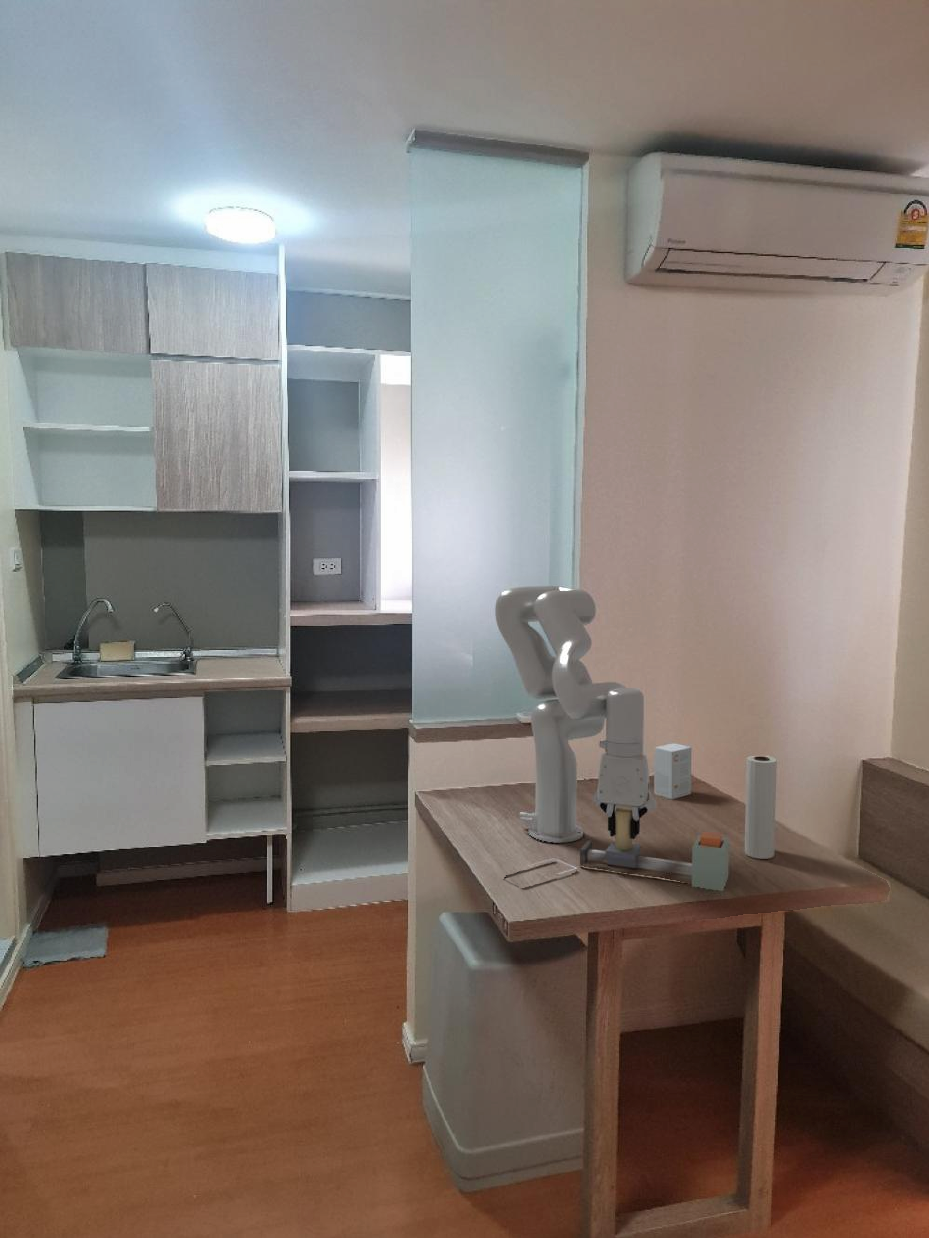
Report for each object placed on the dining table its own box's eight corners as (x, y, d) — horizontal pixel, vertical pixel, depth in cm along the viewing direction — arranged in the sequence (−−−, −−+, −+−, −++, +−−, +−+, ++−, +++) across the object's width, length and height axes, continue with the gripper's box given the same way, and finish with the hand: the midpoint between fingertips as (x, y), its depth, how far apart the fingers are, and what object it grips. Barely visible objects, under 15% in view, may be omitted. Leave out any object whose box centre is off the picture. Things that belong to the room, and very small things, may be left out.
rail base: (579, 867, 182) (580, 849, 182) (587, 858, 187) (587, 840, 187) (692, 884, 173) (692, 865, 172) (697, 874, 178) (697, 855, 178)
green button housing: (691, 886, 172) (692, 847, 171) (697, 872, 179) (698, 834, 178) (723, 891, 169) (723, 851, 169) (728, 876, 177) (729, 838, 176)
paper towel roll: (758, 861, 185) (760, 762, 183) (738, 852, 191) (740, 756, 189) (784, 856, 188) (787, 759, 186) (764, 847, 193) (766, 752, 192)
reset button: (700, 852, 173) (700, 837, 172) (702, 846, 176) (703, 831, 176) (718, 855, 171) (719, 839, 171) (721, 849, 175) (721, 833, 174)
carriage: (605, 865, 180) (606, 812, 179) (612, 856, 185) (613, 804, 184) (634, 869, 177) (635, 816, 176) (640, 860, 183) (641, 807, 182)
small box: (672, 789, 239) (673, 742, 238) (691, 794, 234) (692, 746, 233) (653, 794, 234) (653, 746, 233) (671, 800, 229) (672, 751, 228)
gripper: (580, 749, 179) (579, 836, 181) (661, 756, 172) (660, 847, 174) (590, 741, 186) (589, 825, 187) (668, 748, 179) (667, 835, 181)
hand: (623, 834), depth 181 cm, fingers closed on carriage, 3 cm apart
